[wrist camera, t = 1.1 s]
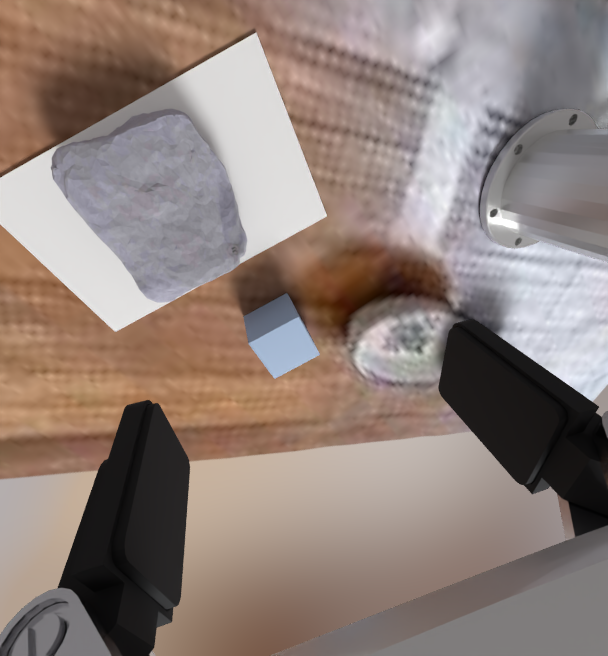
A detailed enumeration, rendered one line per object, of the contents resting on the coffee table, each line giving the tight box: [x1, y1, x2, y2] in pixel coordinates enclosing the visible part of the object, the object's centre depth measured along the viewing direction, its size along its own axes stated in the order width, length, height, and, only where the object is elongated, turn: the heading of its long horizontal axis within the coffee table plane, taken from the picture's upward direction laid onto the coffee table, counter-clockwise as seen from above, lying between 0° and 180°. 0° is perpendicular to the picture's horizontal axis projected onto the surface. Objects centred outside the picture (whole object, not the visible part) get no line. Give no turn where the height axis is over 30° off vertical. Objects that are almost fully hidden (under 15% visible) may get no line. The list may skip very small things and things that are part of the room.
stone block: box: [51, 109, 248, 303], centre depth 23 cm, size 12×5×10 cm
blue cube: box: [243, 293, 320, 379], centre depth 30 cm, size 5×5×5 cm
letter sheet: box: [0, 33, 327, 332], centre depth 24 cm, size 22×13×1 cm, turn 114°
